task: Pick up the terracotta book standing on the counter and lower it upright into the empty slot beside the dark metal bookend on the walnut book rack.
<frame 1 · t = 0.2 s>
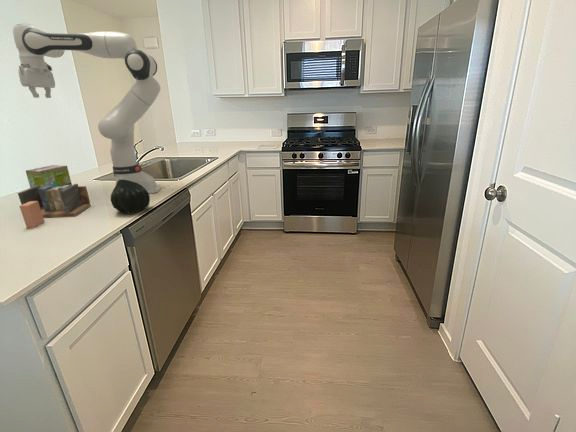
hand: (42, 97, 148), 48 cm above the countertop, tool pointing down, fingers open, 8 cm apart
book: (35, 225, 124), on the countertop
squash: (132, 211, 138), on the countertop
rack: (59, 212, 138), on the countertop
tea box: (54, 195, 164), on the countertop
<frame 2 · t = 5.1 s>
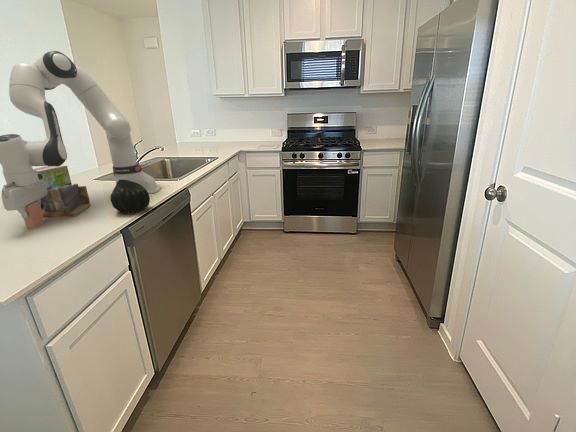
hand: (32, 214, 122), 5 cm above the countertop, tool pointing down, fingers closed on book, 6 cm apart
book: (35, 224, 124), on the countertop, touching gripper
everything else where it was.
when the fingers open (8 cm above the countertop, at t = 11.4 s): book drops 1 cm, resting on rack.
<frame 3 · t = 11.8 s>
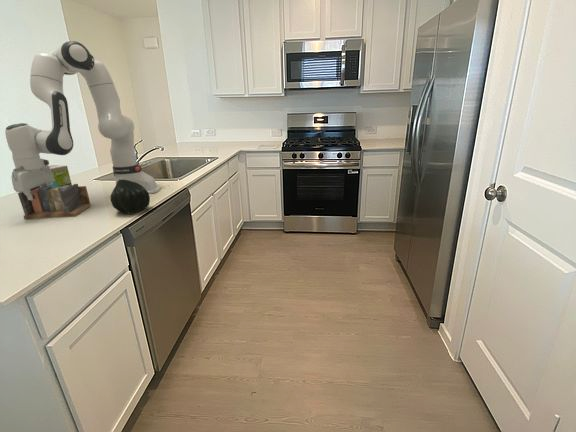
hand: (38, 196, 134), 8 cm above the countertop, tool pointing down, fingers open, 8 cm apart
book: (42, 209, 137), point 1 cm above the countertop, touching rack
everything else where it was.
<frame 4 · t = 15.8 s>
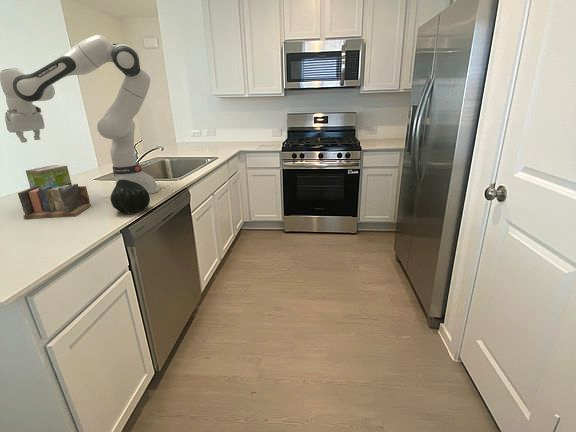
hand: (31, 141, 143), 29 cm above the countertop, tool pointing down, fingers open, 8 cm apart
nothing on the countertop moved.
at the end: book 0.1 cm from the target spot on the rack, point 1.5 cm above the rack's base; book tilted 0°; the gripper is holding nothing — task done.
